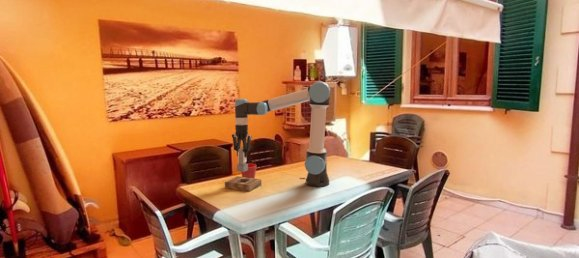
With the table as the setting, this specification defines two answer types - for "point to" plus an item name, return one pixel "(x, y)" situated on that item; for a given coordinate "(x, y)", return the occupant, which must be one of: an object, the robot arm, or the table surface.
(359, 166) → the table surface
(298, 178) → the table surface
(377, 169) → the table surface
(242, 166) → the grey stepped bar
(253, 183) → the well block
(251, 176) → the flower pot
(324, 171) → the robot arm
